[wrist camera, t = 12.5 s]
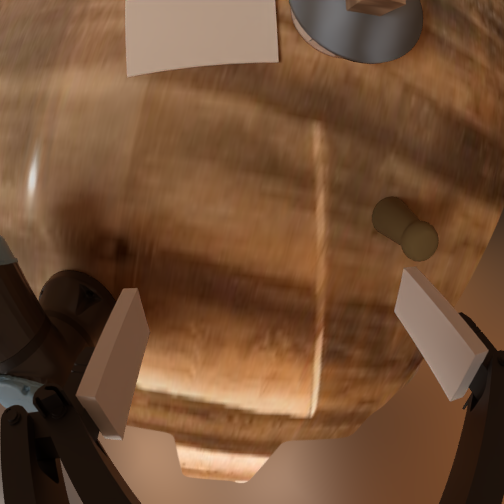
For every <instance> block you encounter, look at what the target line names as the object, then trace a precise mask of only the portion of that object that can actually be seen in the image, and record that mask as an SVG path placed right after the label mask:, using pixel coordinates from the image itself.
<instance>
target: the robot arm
mask: <svg viewBox="0 0 504 504" xmlns="http://www.w3.org/2000/svg"><path fill="white" fill-rule="evenodd" d="M394 312H395V314H396V315H397V317H398V318H399V320H400V321H401V323H402V324H403V326H404V327H405V329H406V330H407V332H408V333H409V335H410V336H411V338H412V339H413V341H414V343H415V344H416V346H417V347H418V349H419V350H420V352H421V354H422V355H423V357H424V359H425V360H426V362H427V363H428V365H429V367H430V368H431V370H432V372H433V373H434V375H435V376H436V378H437V380H438V382H439V383H440V385H441V387H442V388H443V390H444V392H445V394H446V395H447V397H448V399H449V400H450V401H453V400H455V399H458V398H461V397H463V396H464V394H465V393H466V391H467V389H468V388H470V390H471V391H472V393H471V395H470V397H469V398H468V400H467V402H466V403H465V405H464V407H463V409H465V408H466V406H467V405H468V407H467V412H466V417H465V421H464V425H463V429H462V433H461V437H460V441H459V445H458V449H457V452H456V456H455V459H454V462H453V466H452V469H451V472H450V475H449V478H448V481H447V484H446V486H445V489H444V492H443V495H442V498H441V500H440V502H439V504H501V503H502V499H503V495H504V351H501V350H500V351H497V350H496V349H495V348H494V346H493V345H492V344H491V342H490V341H489V340H488V339H487V337H486V336H485V335H484V334H483V333H482V332H481V330H480V329H479V328H478V327H476V324H475V323H474V322H473V321H472V320H471V318H469V317H468V316H466V315H465V314H463V313H462V312H461V313H458V312H457V311H456V310H455V309H454V308H453V307H452V306H451V304H450V303H449V302H448V301H447V300H446V299H445V298H444V296H443V295H442V294H441V293H440V292H439V291H438V290H437V289H436V288H435V286H434V285H433V284H432V283H431V282H430V281H429V280H428V279H427V278H426V277H425V276H424V275H423V274H422V272H421V271H420V270H419V269H418V268H417V267H407V268H404V269H403V274H402V279H401V284H400V288H399V293H398V297H397V302H396V306H395V310H394ZM149 334H150V330H149V327H148V323H147V320H146V317H145V313H144V310H143V306H142V302H141V299H140V295H139V291H138V288H124V289H123V290H122V292H121V294H120V296H119V298H118V300H117V302H115V300H114V299H113V297H112V295H111V294H110V293H109V292H108V290H107V289H106V288H105V287H104V286H103V285H102V284H100V283H99V282H98V281H97V280H95V279H94V278H92V277H90V276H88V275H86V274H84V273H81V272H77V271H61V272H58V273H56V274H54V275H53V276H52V277H51V278H50V279H49V280H48V281H47V282H46V283H45V285H44V286H43V288H42V290H41V292H40V296H39V301H38V300H37V298H36V296H35V295H34V293H33V291H32V289H31V287H30V286H29V284H28V282H27V280H26V278H25V276H24V274H23V272H22V270H21V268H20V266H19V264H18V260H17V258H15V257H14V255H13V254H12V252H11V250H10V248H9V246H8V244H7V243H6V241H5V239H4V238H3V237H2V236H1V235H0V403H1V404H2V405H3V406H4V407H5V408H6V410H5V411H4V413H3V414H2V417H1V469H2V482H3V493H4V500H5V504H70V503H69V500H68V496H67V491H66V487H65V483H64V478H63V473H62V468H61V463H60V459H61V461H62V463H63V465H64V467H65V470H66V471H67V473H68V476H69V478H70V480H71V482H72V484H73V485H74V487H75V489H76V491H77V493H78V495H79V497H80V498H81V500H82V502H83V504H141V502H140V501H139V500H138V499H137V497H136V496H135V495H134V493H133V492H132V490H131V489H130V488H129V486H128V485H127V483H126V482H125V481H124V479H123V478H122V476H121V475H120V473H119V472H118V470H117V469H116V467H115V466H114V464H113V463H112V461H111V459H110V458H109V456H108V455H107V453H106V452H105V450H104V448H103V447H102V445H101V443H100V442H99V440H98V439H97V438H98V434H99V431H100V432H101V433H102V435H103V436H104V438H107V439H115V440H123V436H124V432H125V427H126V423H127V419H128V414H129V410H130V406H131V402H132V398H133V394H134V390H135V386H136V382H137V378H138V374H139V370H140V367H141V363H142V359H143V356H144V352H145V349H146V345H147V341H148V338H149Z"/></svg>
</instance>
